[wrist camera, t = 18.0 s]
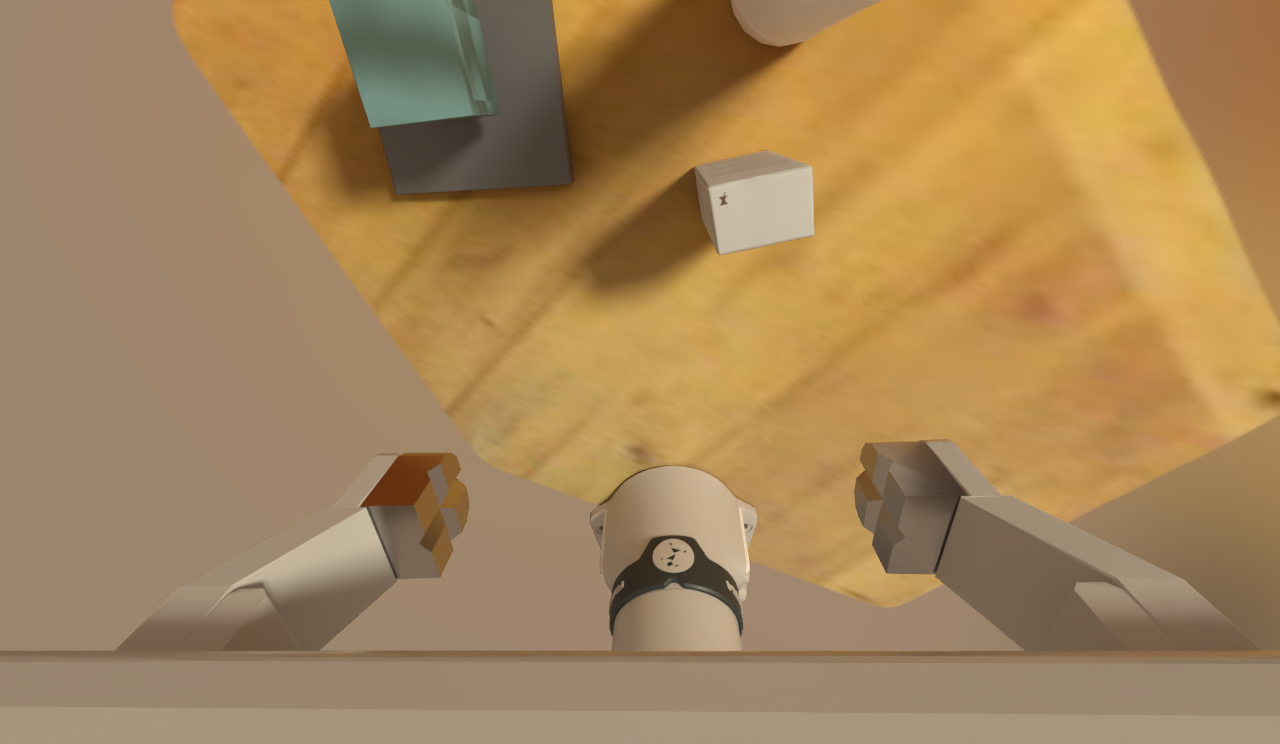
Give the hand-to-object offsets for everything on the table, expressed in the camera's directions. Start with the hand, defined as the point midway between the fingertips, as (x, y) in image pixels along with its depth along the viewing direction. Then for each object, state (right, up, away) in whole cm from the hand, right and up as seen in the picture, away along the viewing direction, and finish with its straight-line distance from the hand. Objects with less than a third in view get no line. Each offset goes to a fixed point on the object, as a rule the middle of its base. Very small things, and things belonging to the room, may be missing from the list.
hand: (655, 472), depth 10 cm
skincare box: (+7, +17, +30) cm, 35 cm away
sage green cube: (-14, +22, +23) cm, 35 cm away
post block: (-13, +24, +26) cm, 38 cm away
